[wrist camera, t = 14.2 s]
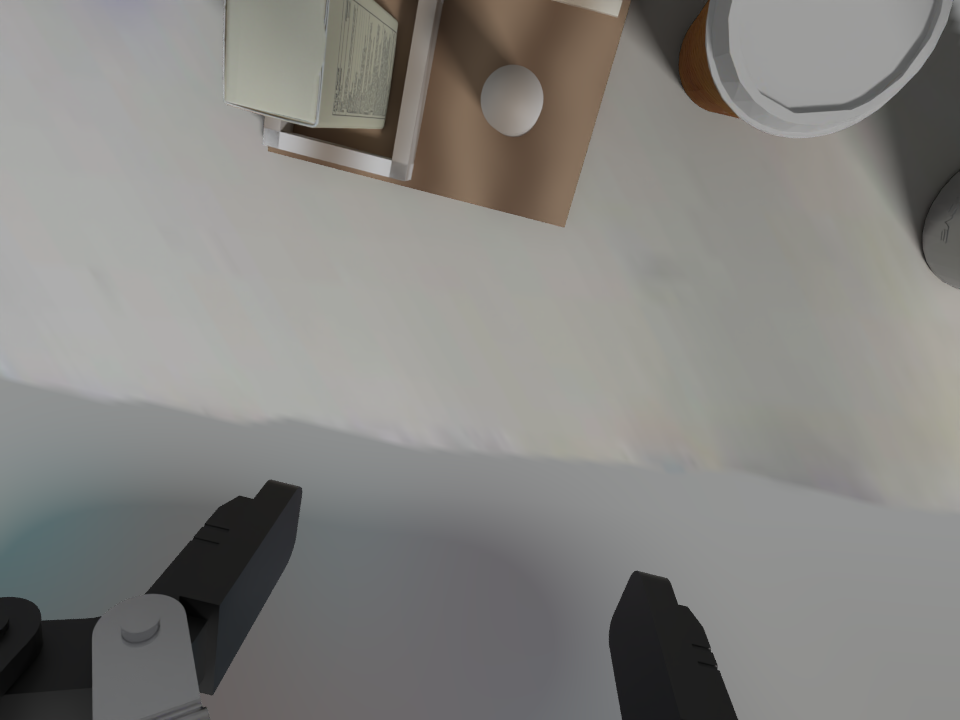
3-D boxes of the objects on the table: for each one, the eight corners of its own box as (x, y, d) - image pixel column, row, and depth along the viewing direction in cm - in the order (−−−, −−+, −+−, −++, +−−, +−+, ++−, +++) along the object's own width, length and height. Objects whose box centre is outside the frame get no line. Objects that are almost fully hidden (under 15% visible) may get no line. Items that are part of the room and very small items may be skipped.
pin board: (668, -137, 30) (729, -258, 21) (562, 224, 37) (575, 248, 28) (313, -234, 29) (223, -398, 21) (277, 150, 37) (200, 151, 28)
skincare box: (329, 3, 32) (223, -77, 21) (401, 21, 32) (334, -49, 21) (317, 119, 34) (216, 105, 23) (384, 135, 35) (316, 129, 23)
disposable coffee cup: (621, 96, 34) (669, 70, 23) (712, -71, 31) (820, -197, 20) (748, 168, 35) (854, 177, 24) (850, 14, 32) (1029, -60, 21)
